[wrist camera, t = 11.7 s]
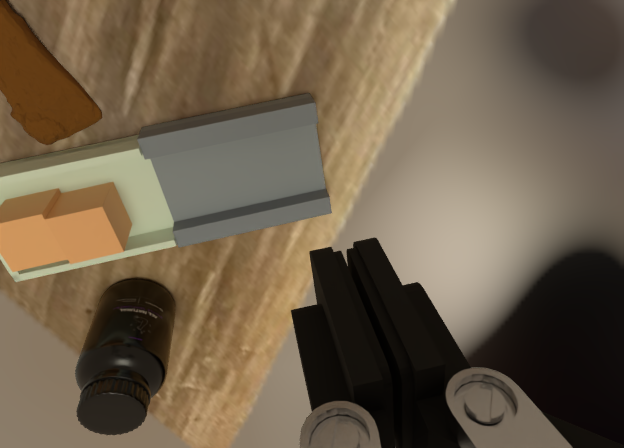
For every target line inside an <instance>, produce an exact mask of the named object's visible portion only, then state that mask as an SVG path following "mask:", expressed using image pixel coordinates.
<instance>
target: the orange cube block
mask: <svg viewBox="0 0 624 448" xmlns="http://www.w3.org/2000/svg"><path fill="white" fill-rule="evenodd" d="M60 194H61V192H60V190H59V188H56V189H52V190H47V191H43V192H38V193H34V194H29V195H25V196H20V197H16V198H11V199H7V200H5V201H4V202H3V203H2V205H1V206H0V254H1V255H2V257H3V258H4V260H5V261H6V263H7V264H8V266H9V267H10V269H11V270H12V272H16V271H20V270H24V269H29V268H33V267H37V266H42V265H46V264H50V263H55V262H59V261H63V260H68V259H67V258H66V256H65V254H64V252H63V251H62V249H61V247H60V245H59V244H58V242H57V240H56V238H55V237H54V235H53V233H52V231H51V230H50V228H49V226H48V225H47V223H46V221H45V218H46V217H47V215H48V214H49V212H50V210H51V209H52V207H53V206H54V204H55V202H56V201H57V199H58V198H59V196H60Z"/></svg>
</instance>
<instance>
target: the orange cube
mask: <svg viewBox="0 0 624 448" xmlns="http://www.w3.org/2000/svg"><path fill="white" fill-rule="evenodd" d="M45 221H46V223H47V225H48V226H49V228H50V230H51V231H52V233H53V235H54V237H55V238H56V240H57V242H58V244H59V245H60V247H61V249H62V251H63V252H64V254H65V256H66V258H67V259H68V261H69V263H70V264H74V263H78V262H83V261H87V260H91V259H95V258H100V257H104V256H108V255H113V254H117V253H121V252H124V250H125V247H126V244H127V240H128V237H129V234H130V230H131V227H132V222H131V220H130V218H129V216H128V213H127V211H126V209H125V207H124V205H123V202H122V200H121V198H120V196H119V194H118V191H117V189H116V187H115V185H114V182H109V183H105V184H100V185H96V186H91V187H87V188H82V189H78V190H73V191H69V192H64V193H61V194H60V196H59V198H58V199H57V201H56V202H55V204H54V206H53V207H52V209H51V210H50V212H49V214H48V215H47V217H46V218H45Z"/></svg>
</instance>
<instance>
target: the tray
mask: <svg viewBox="0 0 624 448" xmlns="http://www.w3.org/2000/svg"><path fill="white" fill-rule="evenodd" d="M138 136H139V135H135V136H130V137H125V138H120V139H116V140H111V141H106V142H101V143H96V144H91V145H86V146H82V147H77V148H72V149H67V150H62V151H57V152H53V153H48V154H43V155H38V156H33V157H28V158H24V159H19V160H14V161H9V162H4V163H0V206H1V205H2V203H3V202H4V201H5V200H7V199H11V198H16V197H20V196H25V195H29V194H34V193H38V192H43V191H47V190H52V189H56V188H59V190H60V192H61V193H64V192H69V191H73V190H78V189H82V188H87V187H91V186H96V185H100V184H105V183H109V182H114V185H115V187H116V189H117V191H118V194H119V196H120V198H121V200H122V202H123V205H124V207H125V209H126V211H127V213H128V216H129V218H130V220H131V222H132V227H131V230H130V234H129V237H128V240H127V244H126V247H125V250H124V252H121V253H117V254H113V255H108V256H104V257H100V258H95V259H91V260H87V261H83V262H78V263H74V264H70V263H69V261H68V260H63V261H59V262H55V263H50V264H46V265H42V266H37V267H33V268H29V269H24V270H20V271H16V272H12V270H11V269H10V267H9V266H8V264H7V263H6V261H5V260H4V258H3V257H2V255H1V254H0V260H1V261H2V263H3V264H4V266H5V267H6V269H7V270H8V272H9V273H10V275H11V276H12V278H13V279H14V281H15V282H18V281H22V280H27V279H31V278H36V277H40V276H45V275H49V274H54V273H58V272H63V271H67V270H71V269H76V268H80V267H85V266H89V265H94V264H98V263H103V262H107V261H112V260H116V259H121V258H125V257H130V256H134V255H138V254H143V253H147V252H152V251H156V250H161V249H165V248H170V247H174V246H176V245H177V242H176V239H175V237H174V234H173V226H174V221H173V218H172V215H171V213H170V210H169V207H168V205H167V202H166V199H165V197H164V194H163V191H162V189H161V186H160V183H159V181H158V178H157V176H156V173H155V170H154V168H153V165H152V162H151V160H150V159H146V160H145V159H144V156H143V154H142V151H141V148H140V146H139V143H138V141H137V138H138Z"/></svg>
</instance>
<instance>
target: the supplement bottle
mask: <svg viewBox="0 0 624 448" xmlns="http://www.w3.org/2000/svg"><path fill="white" fill-rule="evenodd" d="M174 319H175V304H174V301H173V299H172V297H171V295H170V294H169V293H168V292H167V291H166V290H165V289H164V288H163V287H161V286H159V285H158V284H155V283H153V282H150V281H146V280H137V279H136V280H126V281H122V282H119V283H117V284H115V285H113V286H112V287H110V288H109V289H108V290H107V291H106V292H105V293H104V294H103V295H102V297H101V299H100V302H99V304H98V307H97V309H96V312H95V315H94V318H93V320H92V323H91V326H90V329H89V332H88V334H87V337H86V340H85V343H84V345H83V348H82V351H81V354H80V357H79V359H78V362H77V366H76V370H75V377H76V381H77V384H78V386H79V388H80V390H81V391H82V392H81V395H80V401H79V404H78V407H77V417H78V421H80V423H81V425H83V426H84V427H85V428H87V429H89V430H90V431H93V432H95V433H99V434H106V435H117V434H123V433H128V432H129V431H133V430H134V429H136V428H138V426H140V425H141V424H142V422H144V420H145V417H146V416H147V411H148V406H149V403H150V399H151V398H152V397H153V396H154V395H155V394H157V393H158V391H159V390H160V389H161V388H162V386H163V384H164V382H165V379H166V375H167V369H168V362H169V355H170V348H171V341H172V334H173V327H174Z"/></svg>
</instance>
